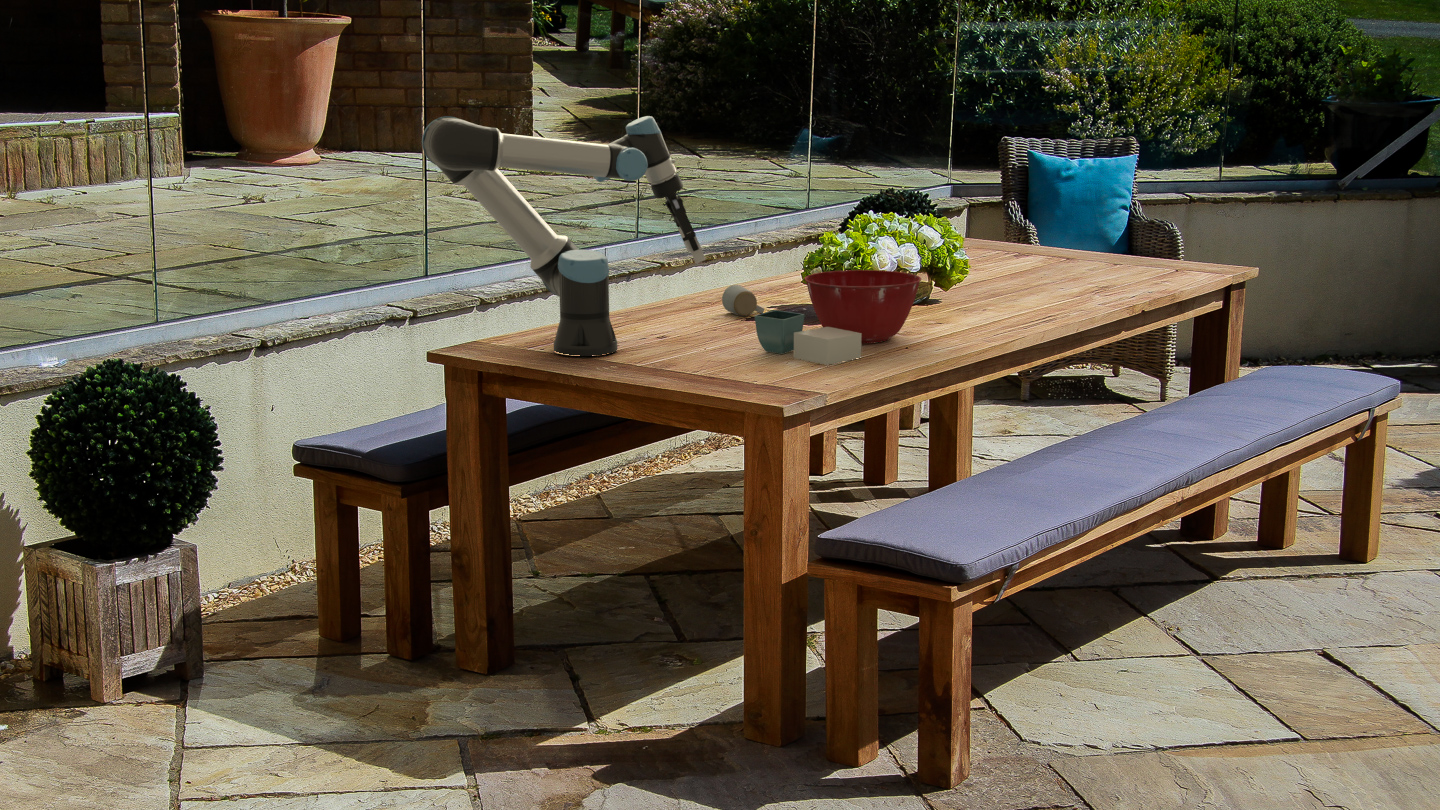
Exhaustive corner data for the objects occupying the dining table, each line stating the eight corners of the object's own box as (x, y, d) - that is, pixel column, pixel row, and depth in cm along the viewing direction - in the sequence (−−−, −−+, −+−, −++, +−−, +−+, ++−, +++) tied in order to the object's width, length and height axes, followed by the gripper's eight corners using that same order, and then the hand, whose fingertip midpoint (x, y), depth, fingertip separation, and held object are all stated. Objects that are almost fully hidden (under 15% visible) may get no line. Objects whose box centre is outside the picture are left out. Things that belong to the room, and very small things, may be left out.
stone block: (827, 365, 327) (827, 339, 326) (793, 357, 335) (793, 332, 334) (861, 358, 334) (861, 333, 333) (827, 351, 342) (827, 326, 341)
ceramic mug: (734, 318, 385) (734, 289, 384) (721, 313, 393) (721, 285, 391) (769, 315, 390) (770, 287, 388) (756, 310, 397) (756, 283, 395)
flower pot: (784, 357, 337) (784, 319, 334) (753, 352, 342) (753, 315, 340) (805, 351, 343) (805, 313, 341) (774, 346, 349) (775, 309, 346)
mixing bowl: (786, 332, 366) (786, 272, 362) (887, 324, 375) (888, 265, 372) (833, 354, 340) (834, 289, 336) (940, 344, 350) (942, 281, 346)
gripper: (684, 180, 343) (718, 260, 351) (670, 163, 366) (702, 239, 374) (655, 193, 343) (690, 273, 350) (643, 175, 366) (676, 250, 374)
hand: (696, 255), depth 362 cm, fingers open, 13 cm apart
